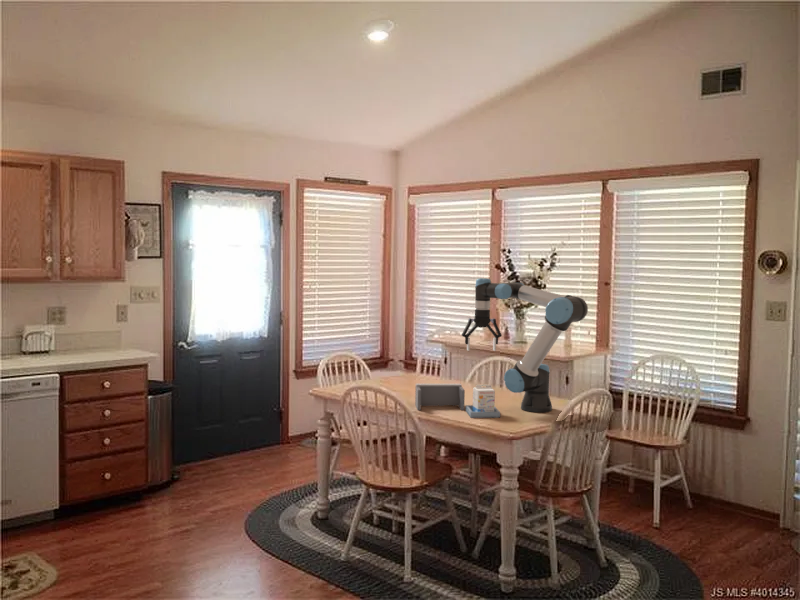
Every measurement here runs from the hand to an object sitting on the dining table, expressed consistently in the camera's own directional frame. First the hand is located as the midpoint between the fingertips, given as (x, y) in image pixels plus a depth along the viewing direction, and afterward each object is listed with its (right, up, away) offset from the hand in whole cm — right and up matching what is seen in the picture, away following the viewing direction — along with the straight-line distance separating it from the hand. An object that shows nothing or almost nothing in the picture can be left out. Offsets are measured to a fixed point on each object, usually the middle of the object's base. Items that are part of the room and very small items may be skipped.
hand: (481, 350), depth 361 cm
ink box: (-1, -29, -19) cm, 34 cm away
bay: (-22, -28, -6) cm, 36 cm away
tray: (-2, -29, -19) cm, 35 cm away
